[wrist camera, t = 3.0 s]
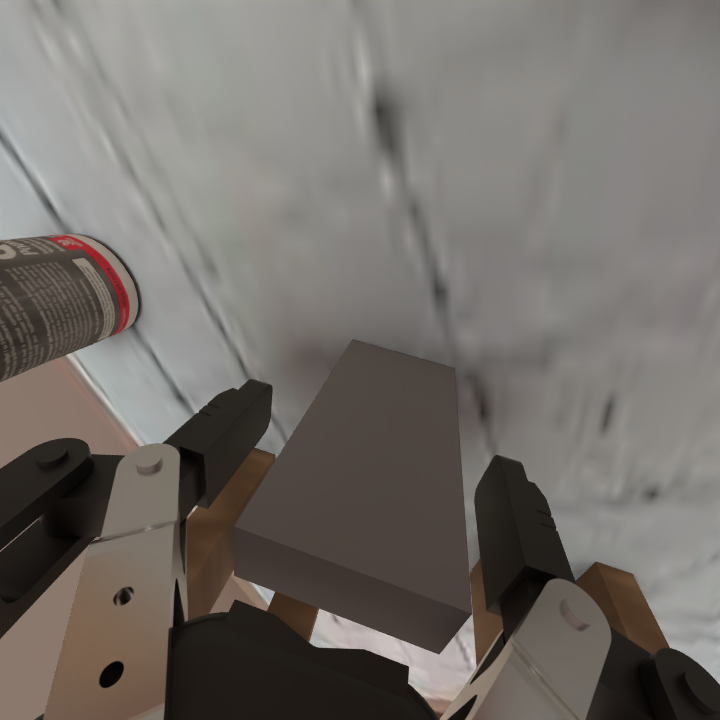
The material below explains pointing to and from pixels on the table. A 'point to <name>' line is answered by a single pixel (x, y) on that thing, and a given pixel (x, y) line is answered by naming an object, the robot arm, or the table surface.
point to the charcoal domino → (369, 502)
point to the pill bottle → (59, 299)
